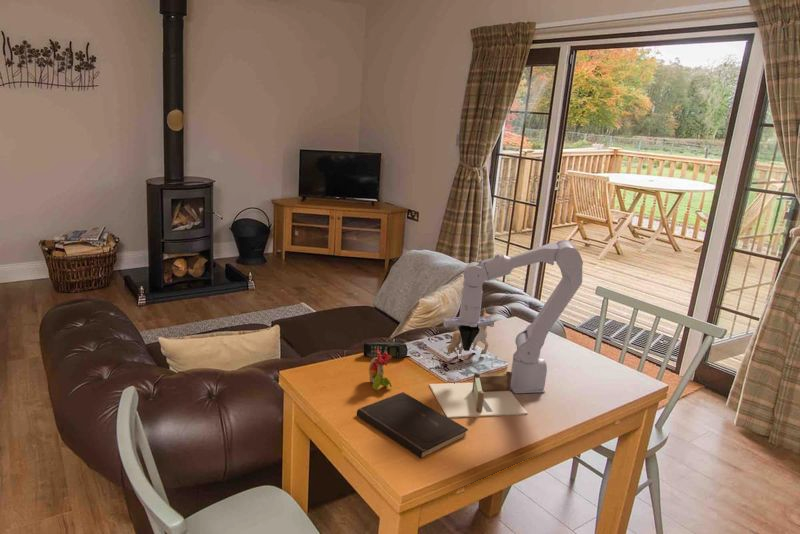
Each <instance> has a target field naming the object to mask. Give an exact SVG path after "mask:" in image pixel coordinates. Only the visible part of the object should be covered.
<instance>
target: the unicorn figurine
mask: <svg viewBox="0 0 800 534" xmlns="http://www.w3.org/2000/svg"><path fill="white" fill-rule="evenodd" d="M482 318H491V313H487V311H486V308H485V307H483V315H482ZM487 327H488V326H478V328H479V329H480V331H479V333H478V334H477V336H476V337H475V339H474V340H473V342H472V344H473V346H472V348H471V350H475V351H476V346H477V344H478V343H479V342H481V343H483V345H484V348H483V349H482V350H481V351H480V352H481V353H480V354H485V355H486V353H487V350H488V347H489V346H490V345H489V343H488V341H487V337H488V331H487ZM460 344H461V345H460ZM447 346H448V347H447V349H446V351H447V352H446V353H447V354H449V355H450V354H453V353H454V352H455V350H456V351H457V350H459V354H461V355H462V352H463V351H464V349H463V344H462V338H461V334H460V331H455V332H454V333H453V334H452V337H451V338H450V344H448V345H447Z"/></svg>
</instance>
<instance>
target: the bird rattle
mask: <svg viewBox="0 0 800 534" xmlns="http://www.w3.org/2000/svg"><path fill="white" fill-rule="evenodd" d="M376 353H377V355H378V357H372V359H371V360H370V363H369V367H368V375H369V382H370V383H372V389H374V390H375V391H378V389H379V387H380V386H383V387H388V386H389V387H390V388H392V387H393V386H392V383H391V380H390V379H389V378H388V377H384V371H385V367H384V366H388V363H387V362H389V360H390V359H392V358H391V357H392V356H390V355H388V354H387V352H384V353H383V354H382V355H381V354H380V352H379V349H377V351H376Z"/></svg>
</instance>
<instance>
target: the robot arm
mask: <svg viewBox="0 0 800 534" xmlns="http://www.w3.org/2000/svg"><path fill="white" fill-rule="evenodd" d="M540 262H541V263H544V264H548V265H551V266H555V262H556V264H557V266H558V268H559V271H560V273H561V279H560V281H559V282H558V284H557V285H556V286H555V288H554V290H553V291H552V293H551V294H550V296H549V297H548V299H547V300H546V302H545V303H544V305H543V306H542V308H541V309H540V311H539V312H538V314H537V315H536V316H535V318H534V320H533V321H532V323H530V324H529V325H527V326H526V328H525V329H524V330H523V331H521V332H520V333H518V334H517V336H516V337H515V345H516V350H515V352H514V353H513V354H512V363H511V370H510V372H511V373H512V377H511V385H510V391H512V392H513V393H514V394H527V393H528V394H532V393H534V394H535V393H545V392H546V390H545V385H546V379H547V373H548V369H547V368H548V367H547V362H546V360H545V359H544V358H543V357H540V356H541V350H542V348H543V346H544V344H545V341H546V338H547V335H548V334H549V332H550V330H551V329H552V328H553V326H554V325H555V324H556V322H557V320H558V319H559V318H560V316H561V315H562V313H563V311H564V310H565V309H566V307H568V304H569V303H570V302H571V300H572V299H573V297H574V296H575V294H576V293H577V291H578V290H579V288H580V287H581V286H582V284H583V265H584V261H583V259H582V256H581V254H580V252H579V250H578V249H577V248H576V246H575V244H574V243H573V242H572V241H570V240H568V239H562V240H558V241H557V242H556V241H552V242H549V243H547V244H544V245H541V246H538V247H535V248H532V249H530V250H529V249H528V250H526V251H523V252H521V253H518V254H515V255H513V256H508V255H506V254H500V253H496V254H494V257H491V258H488V259H484V260H482V259H479V260H478V261H477V262H476V261H472V262H469V263H467V265H465V268H464V269H463V284H462V286H463V287H462V291H461V299H460V307H459V309H460V310H459V316H454V317H451V318H448V317H447V318H443V326H444V328H449V327H457V329H458V330H459V331H460V334H461V338H462V344H463V351H464V352H469V351H470V350H471V346H472V344H473V343H472V342H473V340H474V339H475V337H476V336H477V334H478V333H479V331H480V329H479V328H478V326H487V327H490V328H493V327H495V320H494V318H493V317H490V318H483V316H482V317H481V310H482V302H483V301H482V300H483V293H484V291H483V285H484V283H485V281H487V282H488V281H492V280H495V279H498V278H501V277H505V276H509V275H511V273H512V272H513V270H515V269H517V268H521V267H524V266H526V267H527V266H529V265H533V264H536V263H537V264H538V263H540ZM459 331H458V332H459Z"/></svg>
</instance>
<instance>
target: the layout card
mask: <svg viewBox="0 0 800 534" xmlns="http://www.w3.org/2000/svg"><path fill="white" fill-rule="evenodd" d="M454 383H455V384H454ZM454 383H453V382H450V383H446V382H445V383H429V384H428V385H429V388H430V390H431V391H432V394H433V395H434V397H435V398H436V400H437V403H438V404H439V406H440V408H441V409H442V411H443V413H444V416H446V417H448V418H449V419H458V418H477V417H499V416H516V415H517V416H518V415H528V414H529V413H528V411H527V410H526V409H525V408H524V407H523V406H522V404H521V403H520V401H519V400H517V398H516V397H515V395H513V393H512V392H511V390H510V391H506V390H494V391H483V392H484V401H483V409H482V412H478V411H476V403H475V397H474V391H472V389H473V382H454Z"/></svg>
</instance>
